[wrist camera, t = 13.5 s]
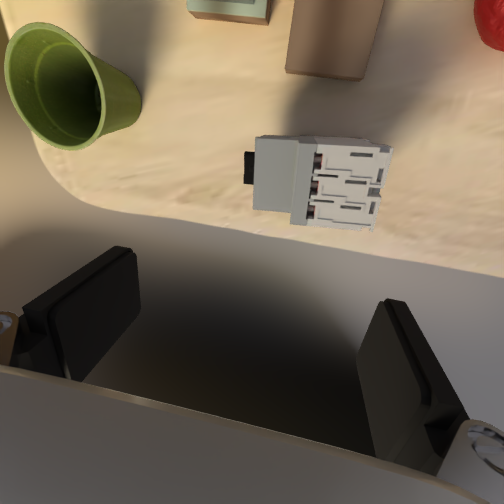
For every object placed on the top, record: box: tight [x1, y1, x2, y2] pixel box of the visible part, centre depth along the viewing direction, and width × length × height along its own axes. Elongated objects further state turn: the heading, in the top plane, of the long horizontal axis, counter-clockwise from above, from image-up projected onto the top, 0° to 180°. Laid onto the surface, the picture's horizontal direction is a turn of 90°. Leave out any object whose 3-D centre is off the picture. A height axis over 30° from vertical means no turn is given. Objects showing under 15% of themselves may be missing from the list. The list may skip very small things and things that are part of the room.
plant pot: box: [4, 22, 141, 151], centre depth 34 cm, size 12×12×11 cm
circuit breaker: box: [244, 135, 394, 232], centre depth 32 cm, size 8×14×15 cm, turn 88°
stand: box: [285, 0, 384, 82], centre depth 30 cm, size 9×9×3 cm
